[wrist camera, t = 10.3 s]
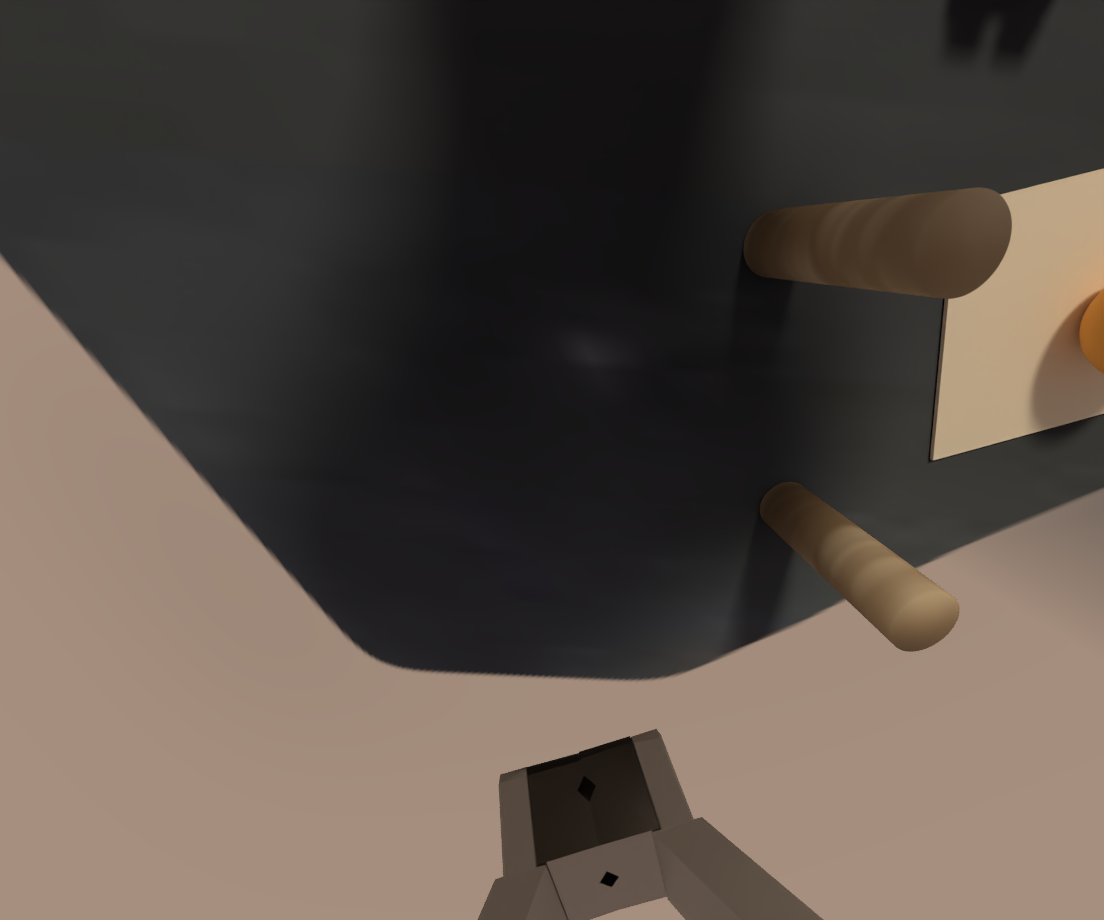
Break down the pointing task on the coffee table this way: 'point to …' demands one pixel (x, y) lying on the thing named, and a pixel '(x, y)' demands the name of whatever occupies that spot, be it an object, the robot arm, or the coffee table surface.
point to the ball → (1093, 332)
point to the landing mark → (1026, 325)
